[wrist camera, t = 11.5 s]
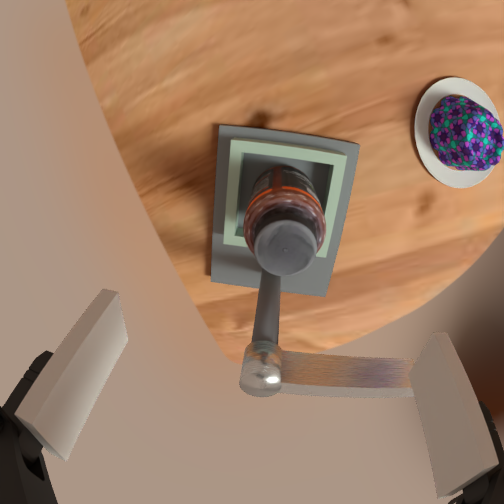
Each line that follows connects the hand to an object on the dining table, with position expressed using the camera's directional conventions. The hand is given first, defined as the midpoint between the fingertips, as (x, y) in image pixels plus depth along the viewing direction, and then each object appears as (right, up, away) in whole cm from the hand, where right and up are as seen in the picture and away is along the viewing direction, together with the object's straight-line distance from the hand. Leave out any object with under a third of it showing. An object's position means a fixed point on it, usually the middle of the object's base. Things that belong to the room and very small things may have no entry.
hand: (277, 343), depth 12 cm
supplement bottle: (+2, +9, +17) cm, 20 cm away
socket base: (+2, +7, +19) cm, 21 cm away
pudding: (+21, +16, +13) cm, 29 cm away
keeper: (+5, -5, +10) cm, 12 cm away
